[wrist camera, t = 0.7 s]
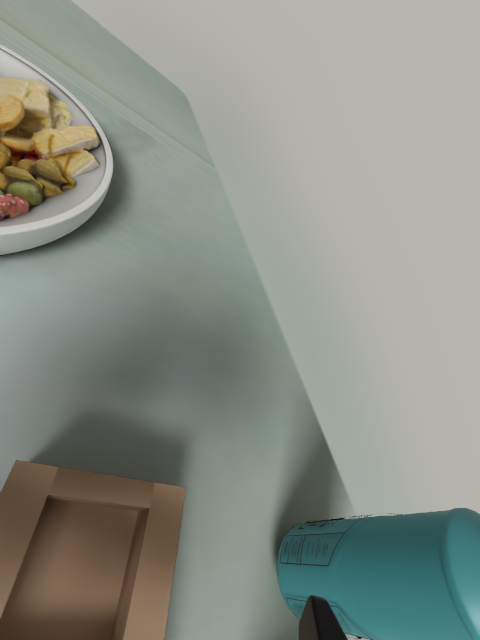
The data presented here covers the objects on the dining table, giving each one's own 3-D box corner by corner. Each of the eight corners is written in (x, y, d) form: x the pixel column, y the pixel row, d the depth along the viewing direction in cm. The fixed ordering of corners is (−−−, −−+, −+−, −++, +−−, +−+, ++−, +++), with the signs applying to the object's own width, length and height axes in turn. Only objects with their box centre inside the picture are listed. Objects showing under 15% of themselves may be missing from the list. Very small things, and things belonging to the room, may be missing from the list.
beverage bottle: (285, 645, 23) (711, 800, 9) (250, 544, 25) (543, 540, 11) (337, 590, 27) (685, 637, 13) (302, 507, 29) (566, 471, 15)
